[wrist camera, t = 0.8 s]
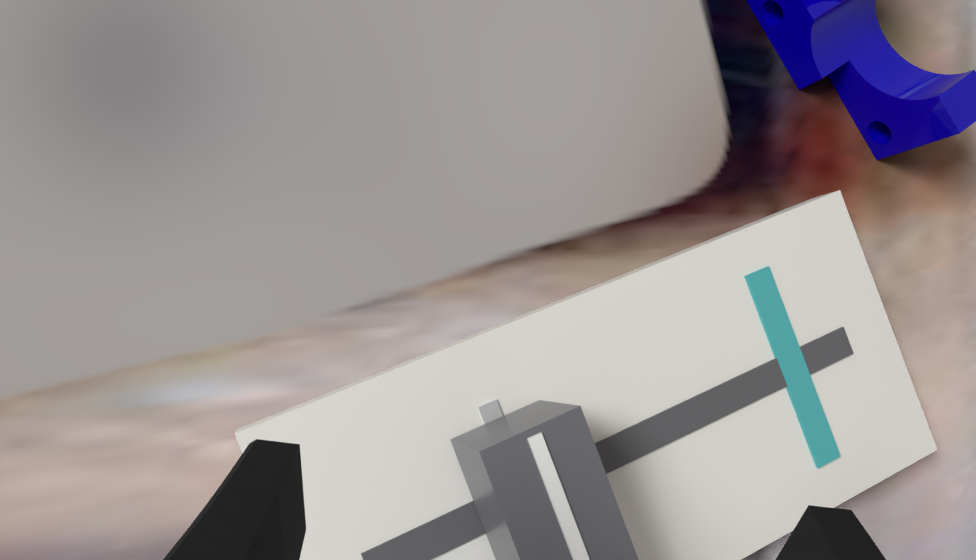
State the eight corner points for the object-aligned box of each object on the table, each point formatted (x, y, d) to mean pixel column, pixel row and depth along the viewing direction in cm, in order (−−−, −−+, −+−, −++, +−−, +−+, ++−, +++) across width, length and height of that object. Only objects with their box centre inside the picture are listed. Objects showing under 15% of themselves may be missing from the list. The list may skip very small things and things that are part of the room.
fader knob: (510, 598, 23) (550, 636, 20) (450, 439, 23) (480, 452, 20) (597, 552, 24) (648, 582, 20) (539, 400, 24) (582, 406, 20)
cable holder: (742, 1, 30) (813, -52, 26) (805, -36, 31) (882, -93, 27) (847, 180, 30) (932, 153, 26) (905, 137, 31) (995, 106, 27)
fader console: (356, 745, 23) (364, 773, 21) (236, 428, 23) (234, 433, 21) (904, 445, 29) (940, 450, 28) (811, 198, 29) (842, 189, 28)
